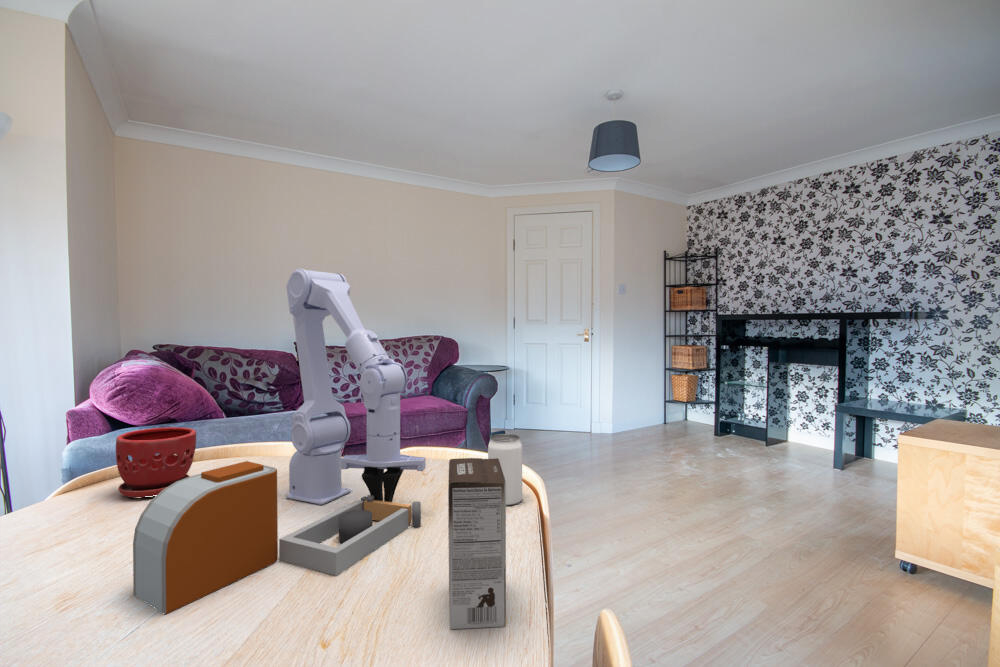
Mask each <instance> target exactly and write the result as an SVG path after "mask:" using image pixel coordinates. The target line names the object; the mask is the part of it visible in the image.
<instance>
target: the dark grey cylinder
mask: <svg viewBox="0 0 1000 667" xmlns="http://www.w3.org/2000/svg"><path fill="white" fill-rule="evenodd" d="M371 526H373V520H372V513H371V512H370V511H367V510H353V511H349V512H346V513H343V514H342V515H340V516H339V533H338V542H339V543H340V545H341V544H343V543H344V542H346V541H348V540H349V539H351V538H353V537H354V536H356V535H358V534H359V533H361V532H363V531H365V530H366V529H368V528H370V527H371Z"/></svg>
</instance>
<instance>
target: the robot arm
mask: <svg viewBox="0 0 1000 667" xmlns="http://www.w3.org/2000/svg"><path fill="white" fill-rule="evenodd" d="M350 291H351V285H350V284H349V283H348V280H347V278H346V277H345V276H344V274H342V273H341V272H340V273H339V272H334V273H333V272H325V271H316V270H310V269H309V270H308V269H305V268H300V267H299V268H296V269H295V270H294V271H292V273H291V274H290V277H289V279H288V281H287V283H286V293H287V300H288V301H287V302H288V309H289V313H290V315H292V319H293V327H294V332H295V342H296V349H297V351H296V352H297V357H298V363H299V372H300V380H301V387H302V396H303V404H302V405H301V406H300V407H298V409H297V410H295V412H294V413H293V414H292V415H291V418H292V425H291V426H292V427H291V431H290V432H291V433H290V440H291V443H292V445H293V447H294V448H295V449H296V451H295V452H294V453H293V455H292V456H291V458H290V460H289V463H288V464H289V465H288V466H289V467H288V469H289V470H288V471H289V472H288V473H289V477H288V478H289V480H288V481H289V483H288V484H289V489H288V490H289V493H288V494H286V495H285V497H286V498H287V499H291V500H295V501H296V500H297V501H300V502H306V503H312V504H317V505H324V504H326V503H327V504H328V502H331V501H333V500H337V499H338V498H340V497H342V496H344V495H347V494H348V493H351V492H352V489H351V488H347V487H342V470H347V469H363V473H362V474H361V479H362V481H363V482H364V483H365V485H366V487H367V489H368V492H369V495H374V500H378V501H386V502H394V496H395V493H396V489H397V486H398V483H399V481H400V479H401V477H402V474H403V472H404V471H405V470H408V471H409V470H411V471H413V470H415V471H417V472H424V470H425V469H426V457H425V456H416V455H415V456H414V455H409V454H408V455H406V454H401V394H403V393H404V392H405V390H406V389H407V386H408V374H407V372H406V370H405V367H404V365H403V364H402V363H400V362H396V361H395V360H394V359H393V358H390V356H389V355H388V353H387V352H386V350H385V348H384V347H383V345H382V343H381V342H380V340H379V337H378V335H377V333H375V332H374V331H373V330H371V329H370V330H369V329H365V327H364V325H363V323H362V321H361V319H360V317H359V315H358V313H357V311H356V309H355V307H354V305H353V301H352V300H351V298H350V293H351V292H350ZM330 316H332V318H333V320H334V321H335V322H336V323H337V325H338V327H339V328H340V330H341V331H342V333H343V334H344V335H345V337H346V341H345V344H344V346H345V347H344V348H345V349H346V351H347V353H348V355H349V357H350V359H351V360H352V362H353V364H354V366H355V368H356V369H357V371H358V373H359V375H360V379H359V380H358V388H359V390H360V392H361V394H362V398H363V405H364V408H365V409H366V454H365V453H363V454H349V455H348V454H347V455H344V456H342V449H344V448H345V444H346V443H347V441H349V438H350V435H351V424H350V420H349V418H348V417H347V415H346V411H345V406H344V405H343V404H342V403H340V402H339V401H338V400H335V399H334V398H333V389H332V384H331V383H332V382H331V376H330V370H329V361H328V355H327V354H328V353H327V347H326V339H325V331H324V323H323V321H324V320H325V319H326V317H330ZM323 414H324V415H323ZM316 415H323V416H316ZM314 416H316V417H314Z"/></svg>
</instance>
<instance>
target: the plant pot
mask: <svg viewBox="0 0 1000 667" xmlns="http://www.w3.org/2000/svg"><path fill="white" fill-rule="evenodd" d="M196 448H197V431H196V430H195V429H193V428H189V427H178V426H175V427H172V426H171V427H169V426H168V427H155V428H153V427H152V428H145V429H138V430H133V431H129V432H125V433H121V434H119V435H118V436H117V437H116V438H115V459H116V460H115V461H116V467H117V470H118V474H119V476H120V478H121V480H122V481H123V483H120V485H119V486H118V492H119V493H120V494H121V495H122V496H124V497H126V496H127V498H130V497H145V496H153V495H158V494H159V493H160V492H161V491H162V490H163V489H165V488H167V487H168V486H170V485H171V484H173V483H175V482H177V481H179V480H182V479H185V478H187V477H190V475H189V474H188V473H189V472H190V469H191V467H192V464H193V461H194V456H195V452H196ZM129 457H131V460H130V459H129Z"/></svg>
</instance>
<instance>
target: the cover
mask: <svg viewBox="0 0 1000 667" xmlns="http://www.w3.org/2000/svg"><path fill="white" fill-rule="evenodd" d="M366 497H367V500H365V501H364V510H367V511H370V512H371V513H372V521H377V522H380V521H381V520H383V519H385V518H386V517H388V516H390V515H392V514H393V513H395V512H397V511H398V510H400V509H402V508H404V509H408V526H409V525H411V524H412V525H411V526H412V527H415V528H416V527H420V526H421V525H422V520H421V519H422V516H421V515H422V512H421V511H422V510H421V509H422V508H421V507H422V506H421V505H422V503H421V501H412V503H411V504H408V503H407V504H406V503H399V502H394V501H392V502H386V501H384V500H383V501H378V500H374V495H371V494H368V495H366Z"/></svg>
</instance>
